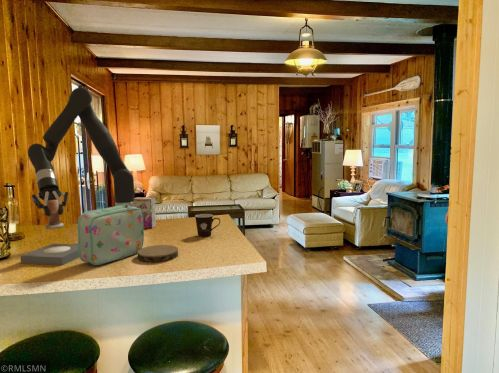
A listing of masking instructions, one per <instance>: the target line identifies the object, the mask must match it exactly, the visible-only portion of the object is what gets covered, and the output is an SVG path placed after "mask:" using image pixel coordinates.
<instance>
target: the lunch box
mask: <svg viewBox="0 0 499 373" xmlns="http://www.w3.org/2000/svg"><path fill="white" fill-rule="evenodd" d="M144 229H145V228H144V218H143V212H142V210H141V209H139V208H136V207H131V206H128V204H122V205H118V206H115V205H114V206H109V207H106V208H99V209H93V210H92V209H91V210H87V211H84V212H83V213H81V214H80V215H79V218H78V219H77V244H78V254H79V260H81V262H83V263H84V262H85V263H89V264H91V265H93V266H102V265H104V264H107V263H110V262H114V261H116V260H117V261H118V260H123V259H125V258H127V257H130V256H133V255H136V254H138V250H140V249H142V248H143V246H144V236H145V235H144V234H145V233H144V232H145V230H144Z"/></svg>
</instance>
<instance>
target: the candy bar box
mask: <svg viewBox="0 0 499 373" xmlns="http://www.w3.org/2000/svg"><path fill="white" fill-rule="evenodd" d="M134 205H135V207H136V208H139V209H141V210H142V212H143V218H144V229H154V228H156V227H157V220H156V217H157V216H156V214H157V212H156V198H155V197H141V196H140V197H139V196H138V197H134Z"/></svg>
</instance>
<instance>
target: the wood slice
mask: <svg viewBox="0 0 499 373" xmlns="http://www.w3.org/2000/svg"><path fill="white" fill-rule="evenodd" d="M178 257H179V250H178V247H177V246H176V245H171V244H155V245H154V244H153V245H150V246H146V247H145V246H144V247H142V249H140V250H138V253H137V260H138V261H139V262H142V263H148V264H150V263H151V264H152V263H153V264H155V263H156V264H157V263H158V264H159V263H165V262H169V261H172V260H174V259H176V258H178Z"/></svg>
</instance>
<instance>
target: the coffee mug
mask: <svg viewBox="0 0 499 373" xmlns="http://www.w3.org/2000/svg"><path fill="white" fill-rule="evenodd" d="M213 216H214V215H213V214H209V213H201V214H195V216H194V217H195V224H196V230H197V231H196V232H197V237H199V238H207V237H208V236H209V237H211V236H212V232H213V230H214V229H216V228H217V227H218V226H219V225H221V219H220V218H218V217H214V218H213ZM214 220H218V221H219V222H218V224H217V225H215V226H214V227H213V222H214Z"/></svg>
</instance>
